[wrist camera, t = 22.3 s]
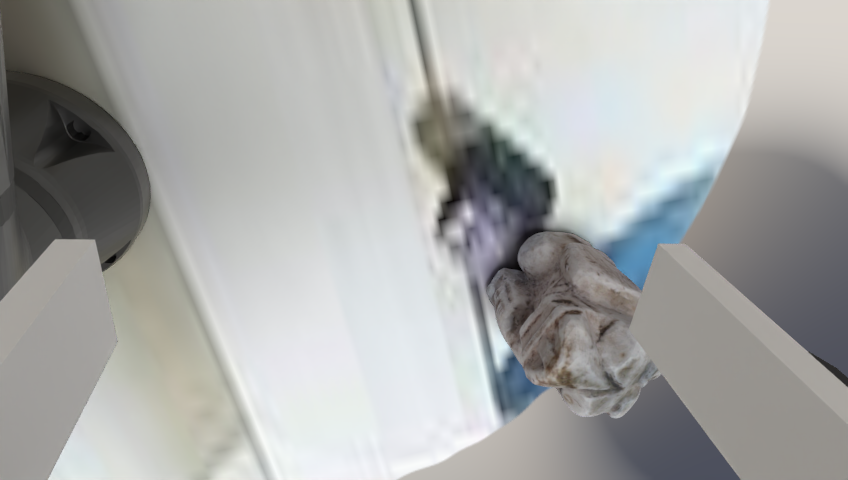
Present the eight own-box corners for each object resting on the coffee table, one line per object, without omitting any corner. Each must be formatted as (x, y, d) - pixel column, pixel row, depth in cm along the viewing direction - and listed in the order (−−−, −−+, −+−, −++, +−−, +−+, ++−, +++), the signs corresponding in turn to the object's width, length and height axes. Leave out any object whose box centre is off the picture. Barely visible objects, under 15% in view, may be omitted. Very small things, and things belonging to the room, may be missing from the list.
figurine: (525, 204, 46) (602, 311, 33) (625, 249, 50) (728, 361, 37) (465, 296, 50) (514, 424, 37) (562, 331, 54) (637, 458, 41)
